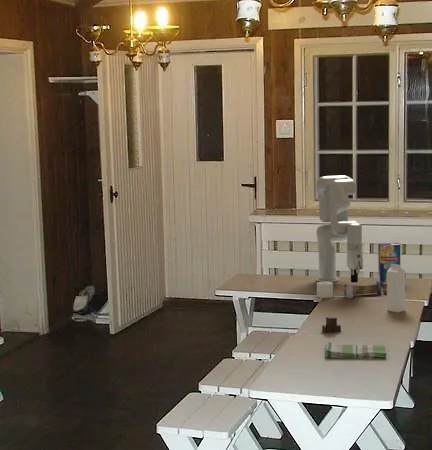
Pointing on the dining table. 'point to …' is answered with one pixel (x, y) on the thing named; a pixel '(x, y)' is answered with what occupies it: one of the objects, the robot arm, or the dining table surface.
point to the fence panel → (385, 288)
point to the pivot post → (378, 287)
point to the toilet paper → (324, 289)
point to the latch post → (349, 292)
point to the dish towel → (355, 351)
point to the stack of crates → (331, 325)
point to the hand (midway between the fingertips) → (354, 282)
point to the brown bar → (362, 289)
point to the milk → (395, 288)
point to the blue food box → (387, 258)
